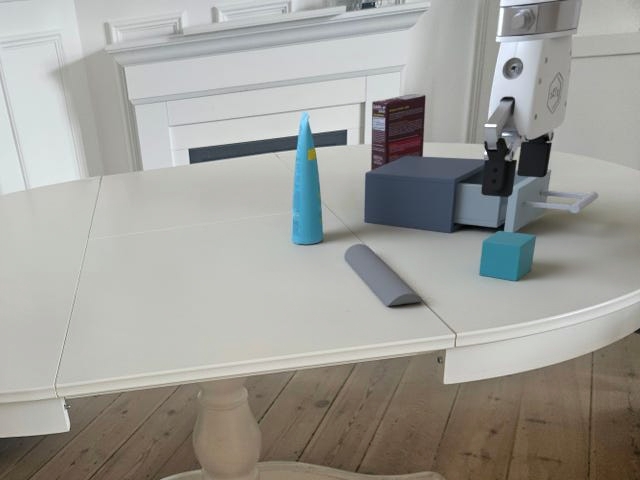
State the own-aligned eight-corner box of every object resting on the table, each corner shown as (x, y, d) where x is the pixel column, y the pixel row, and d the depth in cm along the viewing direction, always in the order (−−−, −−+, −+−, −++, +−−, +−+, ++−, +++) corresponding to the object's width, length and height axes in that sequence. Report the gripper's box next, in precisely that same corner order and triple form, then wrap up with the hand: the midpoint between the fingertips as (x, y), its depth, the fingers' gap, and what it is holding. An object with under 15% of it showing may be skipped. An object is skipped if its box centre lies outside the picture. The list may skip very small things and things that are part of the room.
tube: (327, 245, 97) (327, 113, 88) (296, 249, 97) (292, 118, 88) (317, 231, 104) (316, 107, 95) (288, 235, 104) (283, 112, 95)
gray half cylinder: (372, 253, 91) (372, 241, 91) (425, 305, 74) (426, 291, 73) (342, 257, 92) (342, 245, 91) (388, 310, 74) (389, 296, 73)
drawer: (599, 217, 90) (607, 172, 87) (568, 240, 84) (577, 193, 81) (456, 203, 104) (459, 164, 102) (421, 222, 98) (424, 181, 95)
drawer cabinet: (487, 211, 102) (493, 159, 98) (450, 233, 95) (455, 178, 91) (403, 202, 112) (405, 155, 108) (364, 222, 105) (365, 172, 101)
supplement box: (406, 178, 126) (410, 93, 119) (422, 182, 122) (427, 94, 115) (368, 186, 124) (370, 100, 117) (383, 191, 120) (386, 102, 113)
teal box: (531, 269, 79) (536, 235, 77) (516, 281, 77) (521, 246, 75) (494, 264, 82) (498, 230, 80) (478, 275, 80) (482, 240, 78)
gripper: (543, 26, 59) (517, 207, 67) (606, 12, 69) (577, 171, 77) (463, 33, 64) (447, 200, 72) (532, 19, 74) (512, 167, 82)
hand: (514, 185), depth 74 cm, fingers open, 9 cm apart
